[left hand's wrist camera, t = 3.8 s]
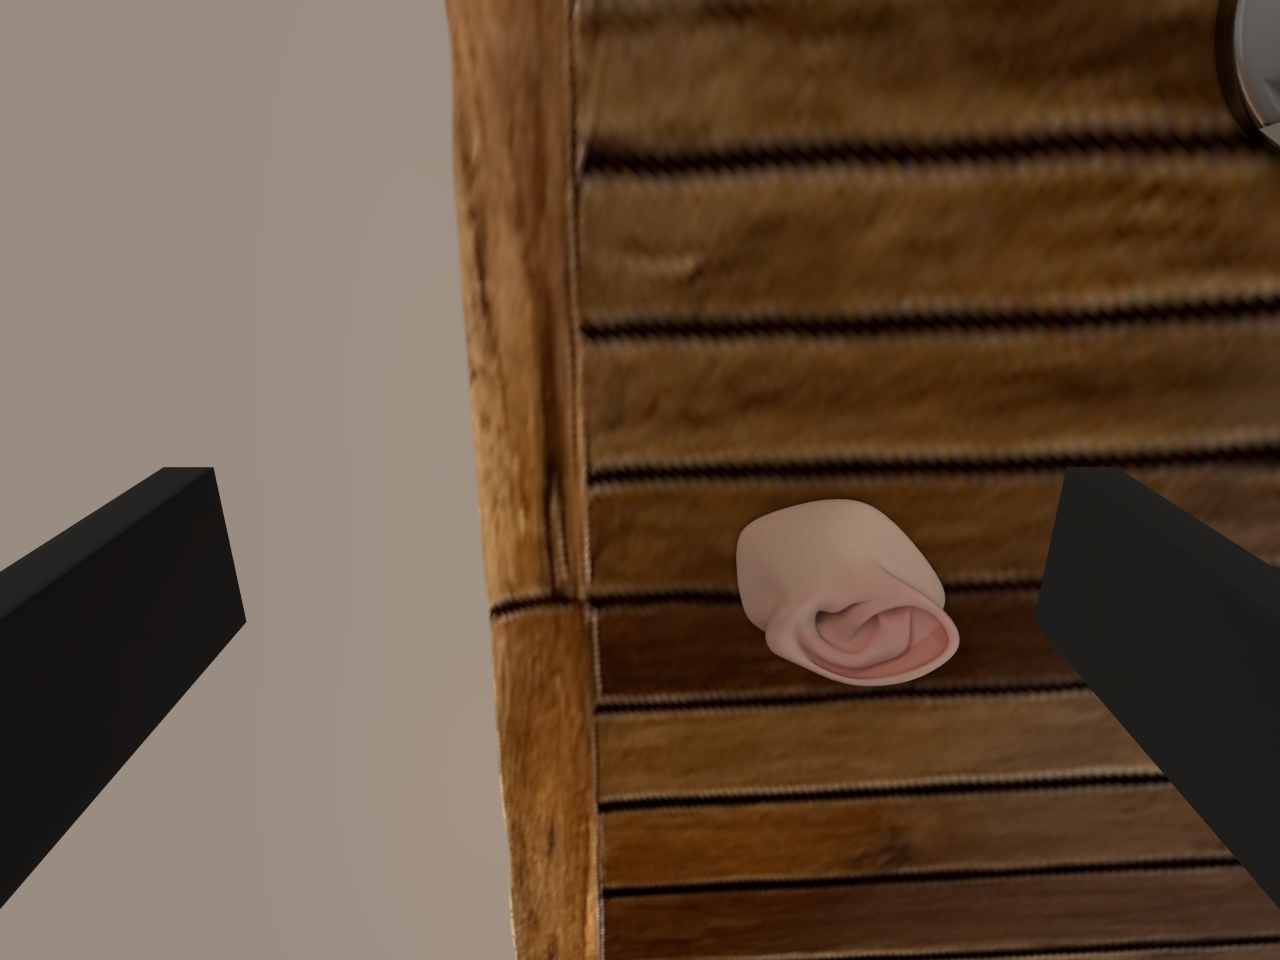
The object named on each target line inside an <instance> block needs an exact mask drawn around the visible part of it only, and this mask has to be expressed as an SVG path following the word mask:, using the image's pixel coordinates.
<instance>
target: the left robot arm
mask: <svg viewBox="0 0 1280 960" xmlns="http://www.w3.org/2000/svg"><path fill="white" fill-rule="evenodd" d="M1215 48H1216V62H1217V68H1218V73H1219V78H1220V82H1221V85H1222V89H1223V92H1224V94H1225V97H1226V99H1227V102H1228V104H1229V106H1230V108H1231V110H1232V111H1233V113H1234V115H1235V117H1236V118H1237V120H1238V121H1239V122H1240V124H1241V125H1242V126H1243V128H1244V129H1245V130H1246V131H1247V132H1248V133H1249V134H1250V135H1251V136H1252V137H1253V138H1254V139H1255V140H1256V141H1258V142H1259V143H1260V144H1261V145H1263V146H1264V147H1266V148H1267V149H1269V150H1271V151H1272V152H1274V153H1276V154H1278V155H1280V0H1220V2H1219V7H1218V13H1217V21H1216V37H1215ZM245 623H246V618H245V613H244V608H243V603H242V599H241V594H240V590H239V585H238V580H237V575H236V571H235V566H234V561H233V557H232V552H231V547H230V543H229V538H228V533H227V528H226V524H225V519H224V514H223V510H222V505H221V500H220V496H219V491H218V486H217V482H216V477H215V472H214V468H213V467H163V468H162V469H160V470H159V471H157V472H156V473H154V474H152V475H151V476H149V477H148V478H146V479H145V480H143V481H141V482H140V483H138V484H137V485H135V486H134V487H132V488H131V489H129V490H127V491H126V492H124V493H123V494H121V495H120V496H118V497H117V498H115V499H113V500H112V501H110V502H109V503H107V504H106V505H104V506H103V507H101V508H99V509H98V510H96V511H95V512H93V513H91V514H90V515H88V516H87V517H85V518H84V519H82V520H80V521H79V522H77V523H76V524H74V525H73V526H71V527H70V528H68V529H66V530H65V531H63V532H62V533H60V534H59V535H57V536H55V537H54V538H52V539H51V540H49V541H48V542H46V543H45V544H43V545H41V546H40V547H38V548H37V549H35V550H34V551H32V552H30V553H29V554H27V555H26V556H24V557H23V558H21V559H19V560H18V561H16V562H15V563H13V564H12V565H10V566H9V567H7V568H5V569H4V570H2V571H1V572H0V909H1V907H2V906H3V905H4V904H5V903H6V902H7V900H8V899H9V898H10V897H11V896H12V895H13V893H14V892H15V891H16V890H17V889H18V888H19V886H20V885H21V884H22V883H23V882H24V881H25V879H26V878H27V877H28V876H29V875H30V874H31V872H32V871H33V870H34V869H35V868H36V867H37V866H38V864H39V863H40V862H41V861H42V860H43V858H44V857H45V856H46V855H47V854H48V853H49V852H50V850H51V849H52V848H53V847H54V846H55V845H56V843H57V842H58V841H59V840H60V839H61V837H62V836H63V835H64V834H65V833H66V832H67V831H68V829H69V828H70V827H71V826H72V825H73V824H74V822H75V821H76V820H77V819H78V818H79V816H80V815H81V814H82V813H83V812H84V811H85V809H86V808H87V807H88V806H89V805H90V804H91V803H92V801H93V800H94V799H95V798H96V797H97V796H98V794H99V793H100V792H101V791H102V790H103V789H104V787H105V786H106V785H107V784H108V783H109V782H110V780H111V779H112V778H113V777H114V776H115V774H116V773H117V772H118V771H119V770H120V769H121V768H122V766H123V765H124V764H125V763H126V762H127V761H128V759H129V758H130V757H131V756H132V755H133V754H134V752H135V751H136V750H137V749H138V748H139V747H140V745H141V744H142V743H143V742H144V741H145V740H146V738H147V737H148V736H149V735H150V734H151V732H152V731H153V730H154V729H155V728H156V727H157V726H158V724H159V723H160V722H161V721H162V720H163V719H164V717H165V716H166V715H167V714H168V713H169V712H170V710H171V709H172V708H173V707H174V706H175V705H176V703H177V702H178V701H179V700H180V699H181V698H182V696H183V695H184V694H185V693H186V692H187V691H188V689H189V688H190V687H191V686H192V685H193V684H194V682H195V681H196V680H197V679H198V678H199V677H200V675H201V674H202V673H203V672H204V671H205V670H206V668H207V667H208V666H209V665H210V664H211V663H212V661H213V660H214V659H215V658H216V657H217V655H218V654H219V653H220V652H221V651H222V650H223V649H224V647H225V646H226V645H227V644H228V643H229V642H230V640H231V639H232V638H233V637H234V636H235V635H236V633H237V632H238V631H239V630H240V629H241V628H242V626H243V625H244V624H245ZM1034 623H1035V624H1036V625H1037V626H1038V628H1039V629H1040V630H1041V631H1042V632H1043V633H1044V635H1045V636H1046V637H1047V638H1048V639H1049V640H1050V642H1051V643H1052V644H1053V645H1054V646H1055V647H1056V649H1057V650H1058V651H1059V652H1060V653H1061V654H1062V656H1063V657H1064V658H1065V659H1066V660H1067V661H1068V663H1069V664H1070V665H1071V666H1072V667H1073V668H1074V670H1075V671H1076V672H1077V673H1078V674H1079V675H1080V677H1081V678H1082V679H1083V680H1084V681H1085V682H1086V684H1087V685H1088V686H1089V687H1090V688H1091V689H1092V691H1093V692H1094V693H1095V694H1096V695H1097V696H1098V698H1099V699H1100V700H1101V701H1102V702H1103V703H1104V705H1105V706H1106V707H1107V708H1108V709H1109V710H1110V712H1111V713H1112V714H1113V715H1114V716H1115V717H1116V719H1117V720H1118V721H1119V722H1120V723H1121V724H1122V726H1123V727H1124V728H1125V729H1126V730H1127V731H1128V733H1129V734H1130V735H1131V736H1132V737H1133V738H1134V740H1135V741H1136V742H1137V743H1138V744H1139V745H1140V747H1141V748H1142V749H1143V750H1144V751H1145V752H1146V754H1147V755H1148V756H1149V757H1150V758H1151V759H1152V761H1153V762H1154V763H1155V764H1156V765H1157V766H1158V768H1159V769H1160V770H1161V771H1162V772H1163V773H1164V775H1165V776H1166V777H1167V778H1168V779H1169V780H1170V782H1171V783H1172V784H1173V785H1174V786H1175V787H1176V789H1177V790H1178V791H1179V792H1180V793H1181V794H1182V796H1183V797H1184V798H1185V799H1186V800H1187V801H1188V803H1189V804H1190V805H1191V806H1192V807H1193V808H1194V810H1195V811H1196V812H1197V813H1198V814H1199V815H1200V817H1201V818H1202V819H1203V820H1204V821H1205V822H1206V824H1207V825H1208V826H1209V827H1210V828H1211V829H1212V831H1213V832H1214V833H1215V834H1216V835H1217V836H1218V838H1219V839H1220V840H1221V841H1222V842H1223V843H1224V845H1225V846H1226V847H1227V848H1228V849H1229V850H1230V852H1231V853H1232V854H1233V855H1234V856H1235V857H1236V859H1237V860H1238V861H1239V862H1240V863H1241V864H1242V866H1243V867H1244V868H1245V869H1246V870H1247V871H1248V873H1249V874H1250V875H1251V876H1252V877H1253V878H1254V879H1255V881H1256V882H1257V883H1258V884H1259V885H1260V886H1261V888H1262V889H1263V890H1264V891H1265V892H1266V893H1267V895H1268V896H1269V897H1270V898H1271V899H1272V900H1273V902H1274V903H1275V904H1276V905H1277V906H1278V907H1279V909H1280V572H1279V571H1278V570H1276V569H1275V568H1273V567H1271V566H1270V565H1268V564H1267V563H1265V562H1264V561H1262V560H1261V559H1259V558H1257V557H1256V556H1254V555H1253V554H1251V553H1250V552H1248V551H1246V550H1245V549H1243V548H1242V547H1240V546H1239V545H1237V544H1235V543H1234V542H1232V541H1231V540H1229V539H1228V538H1226V537H1225V536H1223V535H1221V534H1220V533H1218V532H1217V531H1215V530H1214V529H1212V528H1210V527H1209V526H1207V525H1206V524H1204V523H1203V522H1201V521H1200V520H1198V519H1196V518H1195V517H1193V516H1192V515H1190V514H1189V513H1187V512H1185V511H1184V510H1182V509H1181V508H1179V507H1178V506H1176V505H1174V504H1173V503H1171V502H1170V501H1168V500H1167V499H1165V498H1164V497H1162V496H1160V495H1159V494H1157V493H1156V492H1154V491H1153V490H1151V489H1149V488H1148V487H1146V486H1145V485H1143V484H1142V483H1140V482H1139V481H1137V480H1135V479H1134V478H1132V477H1131V476H1129V475H1128V474H1126V473H1124V472H1123V471H1121V470H1120V469H1118V468H1117V467H1067V468H1066V472H1065V477H1064V482H1063V486H1062V491H1061V496H1060V500H1059V505H1058V510H1057V514H1056V519H1055V524H1054V528H1053V533H1052V538H1051V543H1050V547H1049V552H1048V557H1047V561H1046V566H1045V571H1044V575H1043V580H1042V585H1041V589H1040V594H1039V599H1038V603H1037V608H1036V613H1035V617H1034Z"/></svg>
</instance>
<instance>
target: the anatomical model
mask: <svg viewBox="0 0 1280 960" xmlns="http://www.w3.org/2000/svg"><path fill="white" fill-rule="evenodd" d="M736 560H737V579H738V588H739V592H740V596H741V600H742V604H743V608H744V611H745V613H746V615H747V617H748V618H749V620H750V621H751V622H752V623H753V624H754V625H756V626H757V627H758V628H760V629H761V630H763V631H765V632H766V642H767V644H768V646H769V648H770V649H771V650H772V651H773V652H774V653H775V654H777V655H778V656H780V657H782V658H785V659H787V660H789V661H791V662H794V663H796V664H798V665H800V666H802V667H804V668H807V669H809V670H811V671H813V672H815V673H817V674H820V675H822V676H825V677H827V678H829V679H832V680H835V681H838V682H842V683H846V684H851V685H858V686H882V685H890V684H897V683H902V682H906V681H910V680H913V679H916V678H918V677H921V676H923V675H925V674H927V673H929V672H931V671H933V670H934V669H936V668H938V667H940V666H941V665H942V664H944V663H945V662H946V661H948V660H949V659H950V658H951V657H952V656H953V654H954V653H955V652H956V650H957V648H958V646H959V634H958V630H957V628H956V626H955V624H954V623H953V621H952V620H951V618H950V617H949V616H948V615H947V614H946V613H945V611H944V610H943V607H944V604H945V594H944V589H943V587H942V584H941V582H940V580H939V578H938V576H937V575H936V573H935V572H934V570H933V569H932V567H931V566H930V564H929V563H928V561H927V560H926V559H925V557H924V556H923V555H922V553H921V552H920V551H919V550H918V549H917V547H916V546H915V545H914V544H913V543H912V541H911V540H910V539H909V538H908V537H907V536H906V535H905V533H904V532H903V531H902V530H901V529H900V528H899V527H898V526H897V525H896V524H895V523H894V522H892V521H891V520H890V519H889V518H888V517H887V516H886V515H884V514H883V513H882V512H880V511H879V510H877V509H875V508H874V507H872V506H870V505H868V504H865V503H862V502H859V501H854V500H847V499H833V500H820V501H814V502H808V503H804V504H800V505H796V506H791V507H788V508H785V509H782V510H778V511H775V512H773V513H770V514H767V515H765V516H762V517H760V518H758V519H756V520H754V521H753V522H751V523H750V524H749V525H747V526H746V527H745V528H744V530H743V531H742V532H741V534H740V536H739V539H738V543H737V554H736Z"/></svg>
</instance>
